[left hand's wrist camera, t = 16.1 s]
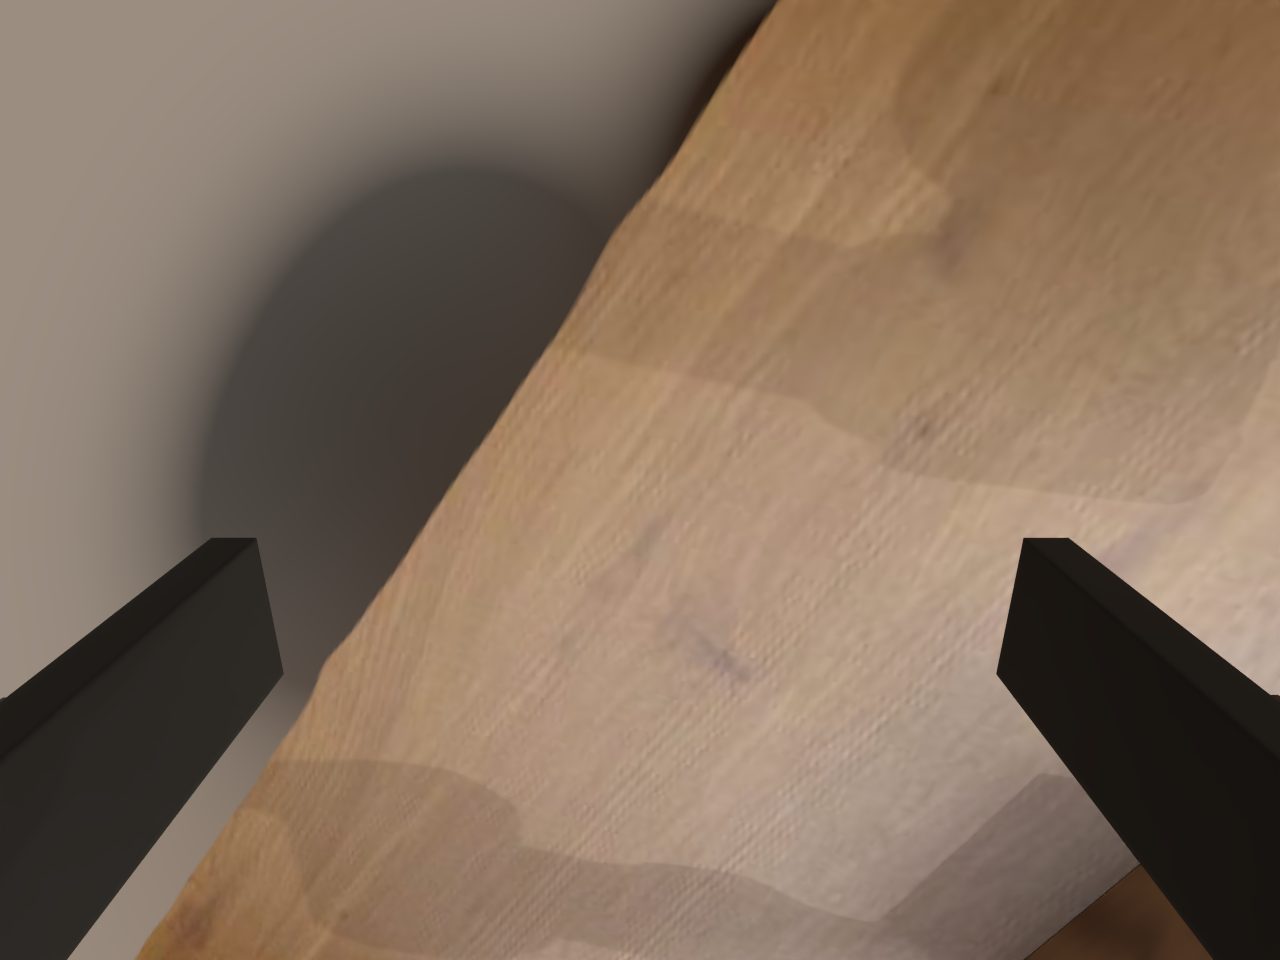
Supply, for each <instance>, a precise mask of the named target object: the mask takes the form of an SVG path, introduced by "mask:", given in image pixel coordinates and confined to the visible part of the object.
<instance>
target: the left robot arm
mask: <svg viewBox="0 0 1280 960" xmlns="http://www.w3.org/2000/svg"><path fill="white" fill-rule="evenodd" d="M996 674H997V676H998V677H999V678H1000V679H1001V681H1002V682H1003V683H1004V685H1005V686H1006V687H1007V689H1008V690H1009V691H1010V693H1011V694H1012V695H1013V697H1014V698H1015V699H1016V701H1017V702H1018V703H1019V705H1020V706H1021V707H1022V708H1023V710H1024V711H1025V712H1026V714H1027V715H1028V716H1029V718H1030V719H1031V720H1032V722H1033V723H1034V724H1035V726H1036V727H1037V728H1038V730H1039V731H1040V732H1041V734H1042V735H1043V736H1044V737H1045V739H1046V740H1047V741H1048V743H1049V744H1050V745H1051V747H1052V748H1053V749H1054V751H1055V752H1056V753H1057V755H1058V756H1059V757H1060V759H1061V760H1062V761H1063V762H1064V764H1065V765H1066V766H1067V768H1068V769H1069V770H1070V772H1071V773H1072V774H1073V776H1074V777H1075V778H1076V780H1077V781H1078V782H1079V784H1080V785H1081V786H1082V788H1083V789H1084V790H1085V791H1086V793H1087V794H1088V795H1089V797H1090V798H1091V799H1092V801H1093V802H1094V803H1095V805H1096V806H1097V807H1098V809H1099V810H1100V811H1101V813H1102V814H1103V815H1104V817H1105V818H1106V819H1107V820H1108V822H1109V823H1110V824H1111V826H1112V827H1113V828H1114V830H1115V831H1116V832H1117V834H1118V835H1119V836H1120V838H1121V839H1122V840H1123V842H1124V843H1125V844H1126V846H1127V847H1128V848H1129V849H1130V851H1131V852H1132V853H1133V855H1134V856H1135V857H1136V859H1137V860H1138V861H1139V863H1140V864H1141V865H1142V867H1143V868H1144V869H1145V871H1146V872H1147V873H1148V874H1149V876H1150V877H1151V878H1152V880H1153V881H1154V882H1155V884H1156V885H1157V886H1158V888H1159V889H1160V890H1161V892H1162V893H1163V894H1164V896H1165V897H1166V898H1167V900H1168V901H1169V902H1170V903H1171V905H1172V906H1173V907H1174V909H1175V910H1176V911H1177V913H1178V914H1179V915H1180V917H1181V918H1182V919H1183V921H1184V922H1185V923H1186V925H1187V926H1188V927H1189V929H1190V930H1191V931H1192V932H1193V934H1194V935H1195V936H1196V938H1197V939H1198V940H1199V942H1200V943H1201V944H1202V946H1203V947H1204V948H1205V950H1206V951H1207V952H1208V954H1209V955H1210V956H1211V957H1212V959H1213V960H1280V696H1279V695H1270V694H1268V693H1267V692H1266V691H1265V690H1263V689H1262V688H1261V687H1259V686H1258V685H1257V684H1256V683H1254V682H1253V681H1252V680H1250V679H1249V678H1248V677H1247V676H1245V675H1244V674H1243V673H1241V672H1240V671H1239V670H1238V669H1236V668H1235V667H1234V666H1232V665H1231V664H1230V663H1229V662H1227V661H1226V660H1225V659H1223V658H1222V657H1221V656H1220V655H1218V654H1217V653H1216V652H1214V651H1213V650H1212V649H1211V648H1209V647H1208V646H1207V645H1205V644H1204V643H1203V642H1202V641H1200V640H1199V639H1198V638H1196V637H1195V636H1194V635H1193V634H1191V633H1190V632H1189V631H1187V630H1186V629H1185V628H1184V627H1182V626H1181V625H1180V624H1178V623H1177V622H1176V621H1175V620H1173V619H1172V618H1171V617H1169V616H1168V615H1167V614H1166V613H1164V612H1163V611H1162V610H1160V609H1159V608H1158V607H1157V606H1155V605H1154V604H1153V603H1151V602H1150V601H1149V600H1148V599H1146V598H1145V597H1144V596H1142V595H1141V594H1140V593H1139V592H1137V591H1136V590H1135V589H1133V588H1132V587H1131V586H1130V585H1128V584H1127V583H1126V582H1124V581H1123V580H1122V579H1121V578H1119V577H1118V576H1117V575H1115V574H1114V573H1113V572H1112V571H1110V570H1109V569H1108V568H1106V567H1105V566H1104V565H1103V564H1101V563H1100V562H1099V561H1097V560H1096V559H1095V558H1094V557H1092V556H1091V555H1090V554H1088V553H1087V552H1086V551H1085V550H1083V549H1082V548H1081V547H1079V546H1078V545H1077V544H1076V543H1074V542H1073V541H1072V540H1070V539H1069V538H1024V539H1023V544H1022V549H1021V554H1020V559H1019V564H1018V569H1017V573H1016V578H1015V583H1014V588H1013V593H1012V598H1011V603H1010V608H1009V613H1008V618H1007V623H1006V628H1005V633H1004V638H1003V643H1002V648H1001V653H1000V658H999V663H998V668H997V673H996ZM282 676H283V668H282V663H281V658H280V653H279V648H278V643H277V638H276V633H275V628H274V623H273V618H272V613H271V608H270V603H269V598H268V593H267V588H266V583H265V578H264V574H263V569H262V564H261V559H260V554H259V549H258V544H257V539H256V538H211V539H210V540H208V541H207V542H206V543H204V544H203V545H202V546H201V547H199V548H198V549H197V550H195V551H194V552H193V553H192V554H190V555H189V556H188V557H186V558H185V559H184V560H183V561H181V562H180V563H179V564H177V565H176V566H175V567H174V568H172V569H171V570H170V571H168V572H167V573H166V574H165V575H163V576H162V577H161V578H159V579H158V580H157V581H156V582H154V583H153V584H152V585H150V586H149V587H148V588H147V589H145V590H144V591H143V592H141V593H140V594H139V595H138V596H136V597H135V598H134V599H132V600H131V601H130V602H129V603H127V604H126V605H125V606H123V607H122V608H121V609H120V610H118V611H117V612H116V613H114V614H113V615H112V616H111V617H109V618H108V619H107V620H105V621H104V622H103V623H102V624H100V625H99V626H98V627H96V628H95V629H94V630H93V631H91V632H90V633H89V634H87V635H86V636H85V637H84V638H82V639H81V640H80V641H78V642H77V643H76V644H75V645H73V646H72V647H71V648H70V649H68V650H67V651H66V652H64V653H63V654H62V655H60V656H59V657H58V658H57V659H55V660H54V661H53V662H51V663H50V664H49V665H48V666H46V667H45V668H44V669H42V670H41V671H40V672H39V673H37V674H36V675H35V676H33V677H32V678H31V679H30V680H28V681H27V682H26V683H24V684H23V685H22V686H21V687H19V688H18V689H17V690H16V691H14V692H13V693H12V694H10V695H9V696H8V697H6V698H2V699H0V960H67V959H68V957H69V956H70V955H71V953H72V952H73V951H74V950H75V948H76V947H77V946H78V944H79V943H80V942H81V940H82V939H83V938H84V936H85V935H86V934H87V932H88V931H89V930H90V929H91V927H92V926H93V925H94V923H95V922H96V921H97V919H98V918H99V917H100V915H101V914H102V913H103V911H104V910H105V909H106V907H107V906H108V905H109V903H110V902H111V901H112V899H113V898H114V897H115V896H116V894H117V893H118V892H119V890H120V889H121V888H122V886H123V885H124V884H125V882H126V881H127V880H128V878H129V877H130V876H131V874H132V873H133V872H134V871H135V869H136V868H137V866H138V865H139V864H140V863H141V861H142V860H143V859H144V857H145V856H146V855H147V853H148V852H149V851H150V849H151V848H152V847H153V845H154V844H155V843H156V842H157V840H158V839H159V838H160V836H161V835H162V834H163V832H164V831H165V830H166V828H167V827H168V826H169V824H170V823H171V822H172V820H173V819H174V818H175V817H176V815H177V814H178V813H179V811H180V810H181V809H182V807H183V806H184V805H185V803H186V802H187V801H188V799H189V798H190V797H191V795H192V794H193V793H194V791H195V790H196V789H197V787H198V786H199V785H200V784H201V782H202V781H203V780H204V778H205V777H206V776H207V774H208V773H209V772H210V770H211V769H212V768H213V766H214V765H215V764H216V762H217V761H218V760H219V758H220V757H221V756H222V755H223V753H224V752H225V751H226V749H227V748H228V747H229V745H230V744H231V743H232V741H233V740H234V739H235V737H236V736H237V735H238V734H239V732H240V731H241V730H242V728H243V727H244V726H245V724H246V723H247V722H248V720H249V719H250V718H251V716H252V715H253V714H254V712H255V711H256V710H257V708H258V707H259V706H260V705H261V703H262V702H263V701H264V699H265V698H266V697H267V695H268V694H269V693H270V691H271V690H272V689H273V687H274V686H275V685H276V683H277V682H278V681H279V679H280V678H281V677H282Z"/></svg>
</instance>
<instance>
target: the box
mask: <svg viewBox="0 0 1280 960" xmlns="http://www.w3.org/2000/svg"><path fill="white" fill-rule="evenodd" d="M1026 960H1213V959H1212V957H1211V956H1210V955H1209V954H1208V952H1207V951H1206V950H1205V948H1204V947H1203V946H1202V944H1201V943H1200V942H1199V940H1198V939H1197V938H1196V936H1195V935H1194V934H1193V932H1192V931H1191V930H1190V929H1189V927H1188V926H1187V925H1186V923H1185V922H1184V921H1183V919H1182V918H1181V917H1180V915H1179V914H1178V913H1177V911H1176V910H1175V909H1174V907H1173V906H1172V905H1171V903H1170V902H1169V901H1168V900H1167V898H1166V897H1165V896H1164V894H1163V893H1162V892H1161V890H1160V889H1159V888H1158V886H1157V885H1156V884H1155V882H1154V881H1153V880H1152V878H1151V877H1150V876H1149V874H1148V873H1147V872H1146V871H1145V869H1144V868H1143V867H1142V865H1139V866H1138V867H1137V868H1136V869H1134V870H1133V871H1132V872H1131V873H1130V874H1128V875H1127V876H1126V877H1125V878H1124V879H1122V880H1121V881H1120V882H1119V883H1118V884H1116V885H1115V886H1114V887H1113V888H1111V889H1110V890H1109V891H1108V892H1107V893H1105V894H1104V895H1103V896H1102V897H1101V898H1099V899H1098V900H1097V901H1096V902H1095V903H1093V904H1092V905H1091V906H1090V907H1088V908H1087V909H1086V910H1085V911H1084V912H1082V913H1081V914H1080V915H1079V916H1078V917H1076V918H1075V919H1074V920H1073V921H1072V922H1070V923H1069V924H1068V925H1067V926H1065V927H1064V928H1063V929H1062V930H1061V931H1059V932H1058V933H1057V934H1056V935H1055V936H1053V937H1052V938H1051V939H1050V940H1049V941H1047V942H1046V943H1045V944H1044V945H1042V946H1041V947H1040V948H1039V949H1038V950H1036V951H1035V952H1034V953H1033V954H1032V955H1030V956H1029V957H1028V958H1027V959H1026Z"/></svg>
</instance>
